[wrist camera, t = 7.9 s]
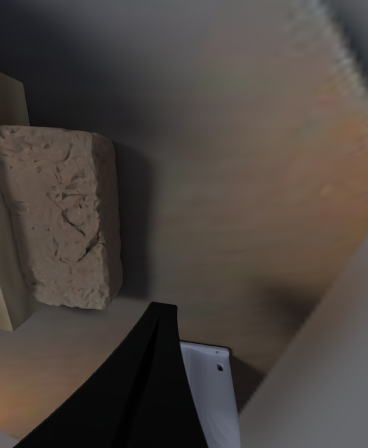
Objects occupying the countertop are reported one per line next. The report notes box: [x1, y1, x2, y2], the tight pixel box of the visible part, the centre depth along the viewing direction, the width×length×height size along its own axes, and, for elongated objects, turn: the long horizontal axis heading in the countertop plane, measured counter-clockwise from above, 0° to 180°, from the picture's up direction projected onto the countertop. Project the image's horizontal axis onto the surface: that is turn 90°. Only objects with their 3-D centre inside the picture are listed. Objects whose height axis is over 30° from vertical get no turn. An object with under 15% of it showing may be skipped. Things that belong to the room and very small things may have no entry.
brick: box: [0, 125, 123, 310], centre depth 17 cm, size 16×8×5 cm, turn 176°
